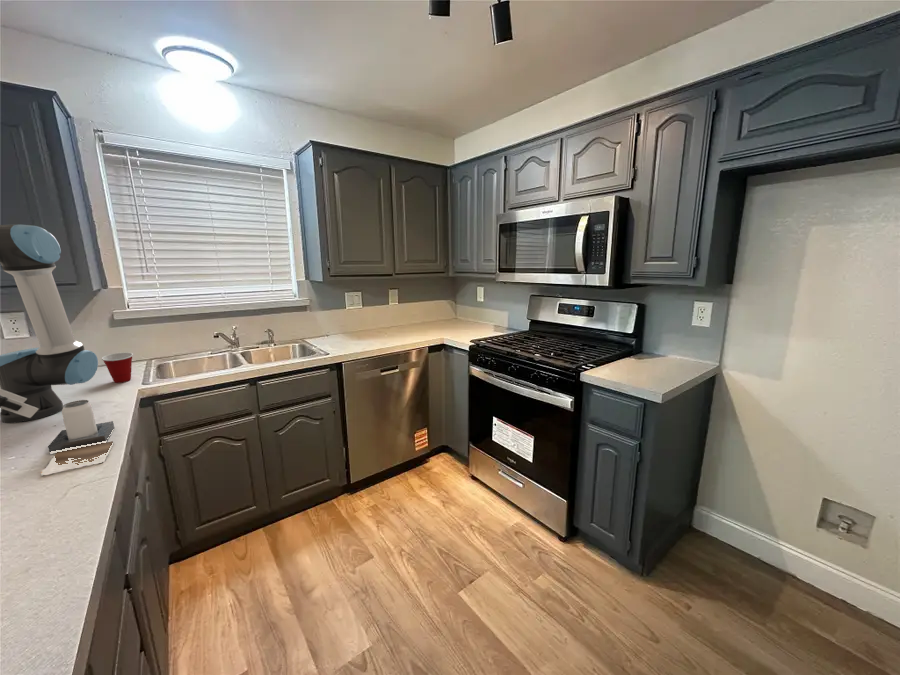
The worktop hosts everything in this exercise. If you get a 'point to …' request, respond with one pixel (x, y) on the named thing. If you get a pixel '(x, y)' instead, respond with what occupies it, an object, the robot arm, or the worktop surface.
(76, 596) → the worktop surface
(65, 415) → the can
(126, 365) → the plastic cup
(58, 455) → the walnut pad
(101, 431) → the steel collar
